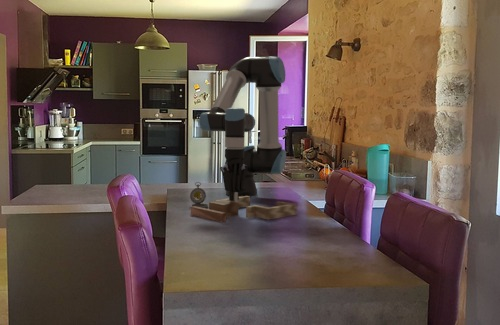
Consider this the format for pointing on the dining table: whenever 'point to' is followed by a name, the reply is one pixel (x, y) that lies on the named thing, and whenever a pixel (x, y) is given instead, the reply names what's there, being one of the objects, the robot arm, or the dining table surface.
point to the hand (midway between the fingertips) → (233, 208)
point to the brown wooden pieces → (249, 210)
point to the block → (225, 207)
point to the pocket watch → (198, 196)
